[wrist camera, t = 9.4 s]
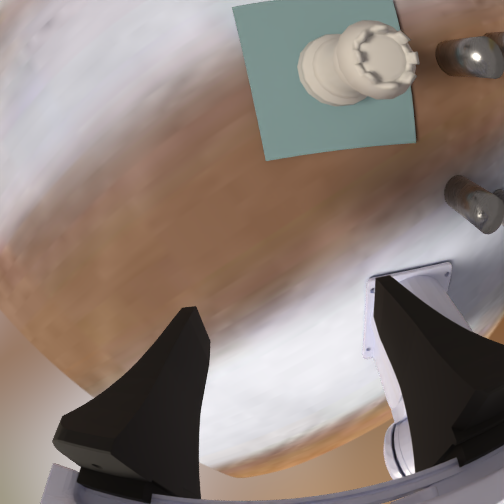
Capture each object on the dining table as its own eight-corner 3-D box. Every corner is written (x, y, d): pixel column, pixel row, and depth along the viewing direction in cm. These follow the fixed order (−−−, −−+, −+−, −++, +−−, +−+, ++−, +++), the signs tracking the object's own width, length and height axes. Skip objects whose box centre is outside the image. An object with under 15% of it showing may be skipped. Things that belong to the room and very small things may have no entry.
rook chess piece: (296, 33, 14) (324, -11, 7) (369, 42, 13) (439, 18, 6) (295, 103, 16) (324, 109, 9) (368, 110, 16) (438, 127, 9)
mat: (413, 141, 17) (416, 142, 16) (265, 159, 18) (265, 160, 18) (389, 0, 12) (392, -2, 12) (232, 9, 13) (232, 7, 13)
